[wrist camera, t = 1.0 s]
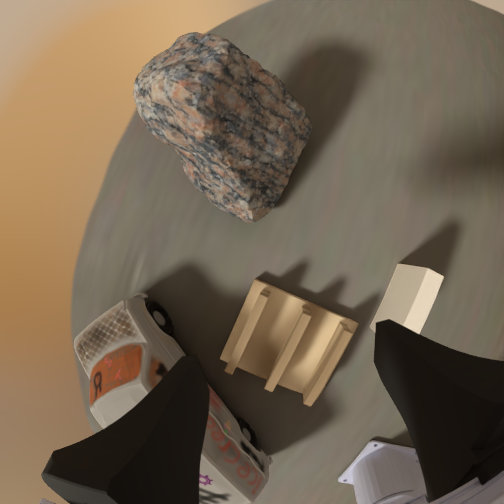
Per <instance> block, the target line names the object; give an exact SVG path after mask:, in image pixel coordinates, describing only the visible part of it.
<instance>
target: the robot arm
mask: <svg viewBox="0 0 504 504" xmlns="http://www.w3.org/2000/svg"><path fill="white" fill-rule="evenodd" d="M374 363H375V366H376V368H377V371H378V373H379V376H380V378H381V381H382V382H383V384H384V386H385V388H386V390H387V391H388V393H389V395H390V397H391V398H392V400H393V402H394V403H395V405H396V407H397V409H398V411H399V412H400V414H401V416H402V418H403V420H404V422H405V424H406V426H407V428H408V431H409V433H410V436H411V439H412V441H413V444H414V447H415V448H410V447H405V446H399V445H394V444H389V443H385V442H380V441H376V440H371V441H370V442H369V443H368V444H367V445H366V446H365V448H364V449H363V450H362V451H361V453H360V454H359V455H358V456H357V457H356V459H355V460H354V461H353V462H352V463H351V464H350V466H349V467H348V468H347V469H346V470H345V471H344V472H343V473H342V475H341V476H340V477H339V478H338V481H339V482H343V483H348V484H354V489H355V495H356V500H357V504H504V361H498V360H491V359H486V358H481V357H477V356H473V355H469V354H466V353H463V352H460V351H456V350H454V349H451V348H448V347H446V346H444V345H441V344H439V343H436V342H434V341H432V340H430V339H428V338H426V337H424V336H422V335H420V334H418V333H416V332H414V331H412V330H410V329H408V328H406V327H405V326H403V325H401V324H399V323H397V322H395V321H393V320H390V319H387V320H383V321H379V322H376V329H375V350H374ZM209 403H210V390H209V387H208V385H207V382H206V380H205V377H204V374H203V372H202V369H201V366H200V363H199V361H198V358H197V355H189V356H182V357H181V358H180V359H179V360H178V361H177V362H176V363H175V365H174V366H173V367H172V368H171V369H170V370H169V371H168V373H167V374H166V375H165V376H164V377H163V378H162V379H161V380H160V382H159V383H158V384H157V385H156V386H155V387H154V388H153V389H152V390H151V391H150V392H149V393H148V394H147V395H146V396H145V397H144V398H143V399H142V400H141V401H140V402H139V403H138V404H137V405H136V406H134V407H133V408H132V409H131V410H130V411H128V412H127V413H126V414H125V415H123V416H122V417H121V418H119V419H118V420H117V421H115V422H113V423H112V424H110V425H109V426H107V427H106V428H104V429H103V430H101V431H99V432H98V433H96V434H94V435H92V436H90V437H88V438H86V439H84V440H82V441H80V442H77V443H75V444H72V445H70V446H67V447H64V448H62V449H59V450H56V451H54V452H53V453H52V455H51V457H50V459H49V461H48V463H47V465H46V467H45V469H44V471H43V473H42V474H41V475H42V478H43V480H44V482H45V483H46V484H47V485H48V486H49V487H50V488H51V489H52V490H54V491H55V492H56V493H57V494H58V495H60V496H61V497H62V498H63V499H65V500H66V501H67V502H68V503H70V504H199V479H200V461H201V454H202V448H203V443H204V437H205V432H206V426H207V421H208V415H209ZM375 444H376V445H375ZM345 479H346V480H345ZM39 504H55V503H53V502H51V501H49V500H46V499H44V498H42V499H41V501H40V503H39Z"/></svg>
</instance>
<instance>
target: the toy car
mask: <svg viewBox="0 0 504 504" xmlns="http://www.w3.org/2000/svg"><path fill="white" fill-rule="evenodd" d="M147 297H148V295H147V294H145V293H137V294H135V295H134V296H132V297H131V298H129V299H126V300H123V301H121V302H120V303H118V304H117V305H115V306H114V307H112V308H111V309H109V310H108V311H106V312H105V313H104V314H102V315H101V316H100V317H98V318H97V319H96V320H94V321H93V322H92V323H91V324H90V325H89V326H87V327H86V328H85V329H84V330H83V331H82V332H81V333H80V334H79V335H78V336H77V337H76V338H75V339H74V349H75V351H76V353H77V355H78V357H79V359H80V361H81V363H82V365H83V367H84V369H85V371H86V373H87V375H88V377H89V379H90V410H91V412H92V414H93V415H94V417H95V418H96V420H97V421H98V422H99V424H100V425H101V426H102V427H103V429H104V428H106V427H107V426H109V425H110V424H112V423H113V422H115V421H117V420H118V419H119V418H121V417H122V416H123V415H125V414H126V413H127V412H128V411H130V410H131V409H132V408H133V407H134V406H136V405H137V404H138V403H139V402H140V401H141V400H142V399H143V398H144V397H145V396H146V395H147V394H148V393H149V392H150V391H151V390H152V389H153V388H154V387H155V386H156V385H157V384H158V383H159V382H160V380H161V379H162V378H163V377H164V376H165V375H166V374H167V373H168V371H169V370H170V369H171V368H172V367H173V366H174V365H175V363H176V362H177V361H178V360H179V359H180V358H181V357H182V356H186V355H185V353H184V352H183V351H182V349H181V348H180V346H179V345H178V344H177V342H176V341H175V339H174V338H172V337H171V336H169V335H170V334H171V332H172V331H173V324H172V321H171V319H170V318H169V316H168V313H167V312H166V310H165V309H164V308H163V307H161V306H160V305H159V304H158V303H157V302H155V301H151V302H148V303H147V304H145V301H144V300H145V299H146V298H147ZM207 385H208V387H209V390H210V403H209V415H208V421H207V426H206V432H205V437H204V443H203V448H202V454H201V461H200V479H199V504H250V503H252V502H254V500H255V499H256V498H257V496H258V495H259V494H260V492H261V491H262V489H263V488H264V486H265V484H266V483H267V481H268V477H269V465H270V464H272V462H273V461H272V458H271V457H270V456H269V459H268V457H267V456H266V454H265V453H264V452H263V450H262V449H259V450H256V449H255V448H256V446H257V438H256V435H255V433H254V431H253V430H252V429H250V426H249V424H248V423H247V422H246V421H245V420H244V419H243V418H240V419H237V420H236V419H235V418H234V416H233V415H232V414H231V412H230V411H229V410H228V408H227V407H226V406H225V405H224V403H223V402H222V401H221V399H220V398H219V397H218V395H217V394H216V393H215V392H214V391H213V389H212V388H211V387H210V386H209V384H208V383H207Z"/></svg>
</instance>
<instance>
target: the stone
mask: <svg viewBox="0 0 504 504" xmlns="http://www.w3.org/2000/svg"><path fill="white" fill-rule="evenodd" d="M133 96H134V100H135V103H136V106H137V110H138V112H139V114H140V117H141V118H142V119H143V121H144V123H145V125H146V127H147V129H148V130H149V131H150V132H151V133H152V134H154V136H156V137H157V138H158V139H159V140H162V141H163V142H164V143H165V144H169V145H171V146H173V148H174V149H175V150H176V152H177V154H178V155H179V156H180V157H181V163H182V164H183V168H184V171H185V173H186V175H187V177H188V178H189V180H190V182H191V183H192V184H193V185H194V187H195V188H196V189H197V190H198V191H201V192H203V193H204V194H205V195H206V196H207V198H208V200H209V201H210V202H211V203H212V204H214V205H215V206H217V207H218V208H220V209H221V210H223V211H225V212H227V213H229V214H230V215H232V216H233V217H236V218H239V219H241V220H243V221H245V222H247V223H250V222H256V221H258V220H259V219H261V218H262V217H264V216H265V215H266V214H268V213H269V212H270V211H271V210H272V208H273V207H274V205H275V204H276V203H277V201H278V200H279V199H280V197H281V195H282V191H283V190H284V188H285V187H286V185H287V183H288V180H289V177H290V175H291V173H292V170H293V168H294V167H295V165H296V164H297V162H298V159H299V156H300V154H301V151H302V149H303V148H304V147H305V145H306V143H307V141H308V139H309V137H310V135H311V132H312V128H313V126H312V123H311V121H310V119H309V117H308V115H307V114H306V111H305V109H304V107H303V106H302V105H300V104H298V102H297V101H296V99H295V98H294V97H293V96H292V95H291V94H290V93H289V91H288V90H287V89H286V88H285V86H284V84H283V83H282V82H281V81H280V80H279V79H278V78H277V76H276V75H273V74H272V73H270V72H269V71H267V70H264V69H263V68H262V67H261V65H260V64H259V62H257V61H254V60H252V59H250V57H249V56H248V55H245V54H243V53H242V52H241V51H240V50H239V49H238V48H237V47H236V46H235V45H233V44H232V43H231V42H229V41H228V40H227V39H225V38H222V37H220V36H216V35H213V34H201V33H198V32H193V33H188V34H185V35H182V36H180V37H179V38H178V39H177V40H176V41H175V43H174V44H173V45H172V46H171V47H170V48H169V49H167V50H165V51H164V52H162V53H160V54H158V55H157V56H155V57H154V58H153V59H152V60H151V61H150V62H149V63H147V64H146V65H145V66H144V67H143V68H142V71H141V72H140V73H139V74H138V76H137V78H136V80H135V83H134V92H133Z"/></svg>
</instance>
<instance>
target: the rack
mask: <svg viewBox="0 0 504 504" xmlns="http://www.w3.org/2000/svg"><path fill="white" fill-rule="evenodd" d="M357 326H358V323H357V322H356V321H353V320H351V319H349V318H346V317H344V316H342V315H339V314H337V313H334V312H332V311H330V310H327V309H325V308H323V307H320V306H318V305H316V304H313V303H311V302H309V301H306V300H304V299H302V298H300V297H297V296H295V295H293V294H290V293H288V292H286V291H283V290H281V289H279V288H277V287H274V286H272V285H270V284H268V283H265V282H263V281H261V280H258V279H254V282H253V284H252V286H251V289H250V291H249V293H248V295H247V298H246V300H245V302H244V305H243V307H242V309H241V311H240V314H239V316H238V318H237V321H236V323H235V325H234V327H233V330H232V332H231V334H230V336H229V339H228V341H227V343H226V345H225V348H224V350H223V352H222V354H221V357H220V359H221V360H223V361H225V362H227V363H228V364H227V367H226V369H225V372H227V373H229V374H231V375H233V373H234V371H235V369H236V367H238V368H241V369H243V370H245V371H247V372H250V373H252V374H254V375H256V376H259V377H261V378H264V379H266V384H265V388H264V389H266V390H269V391H271V392H273V390H274V388H275V386H276V384H278V385H281V386H283V387H286V388H288V389H291V390H294V391H296V392H299V393H302V394H303V404H305V405H308V406H312V404H313V403H314V401H315V400H316V399H317V398H318V397H319V395H320V393H321V392H322V390H323V388H324V387H325V385H326V383H327V382H328V380H329V378H330V376H331V375H332V373H333V371H334V370H335V368H336V366H337V364H338V362H339V361H340V359H341V357H342V355H343V353H344V351H345V350H346V348H347V346H348V344H349V342H350V340H351V338H352V336H353V334H354V332H355V330H356V328H357Z"/></svg>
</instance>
